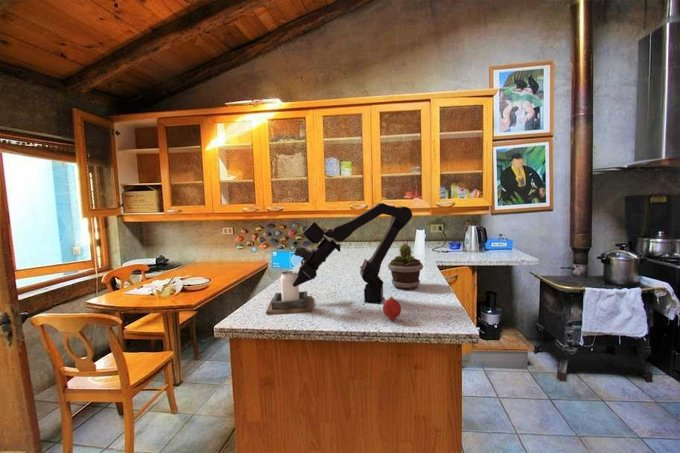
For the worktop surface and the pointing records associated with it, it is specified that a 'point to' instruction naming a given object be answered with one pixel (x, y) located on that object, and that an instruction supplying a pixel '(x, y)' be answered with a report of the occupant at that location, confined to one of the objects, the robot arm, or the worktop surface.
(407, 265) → the flowerpot
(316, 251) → the robot arm
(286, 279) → the can
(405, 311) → the worktop surface
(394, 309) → the onion
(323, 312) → the worktop surface
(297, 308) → the socket
